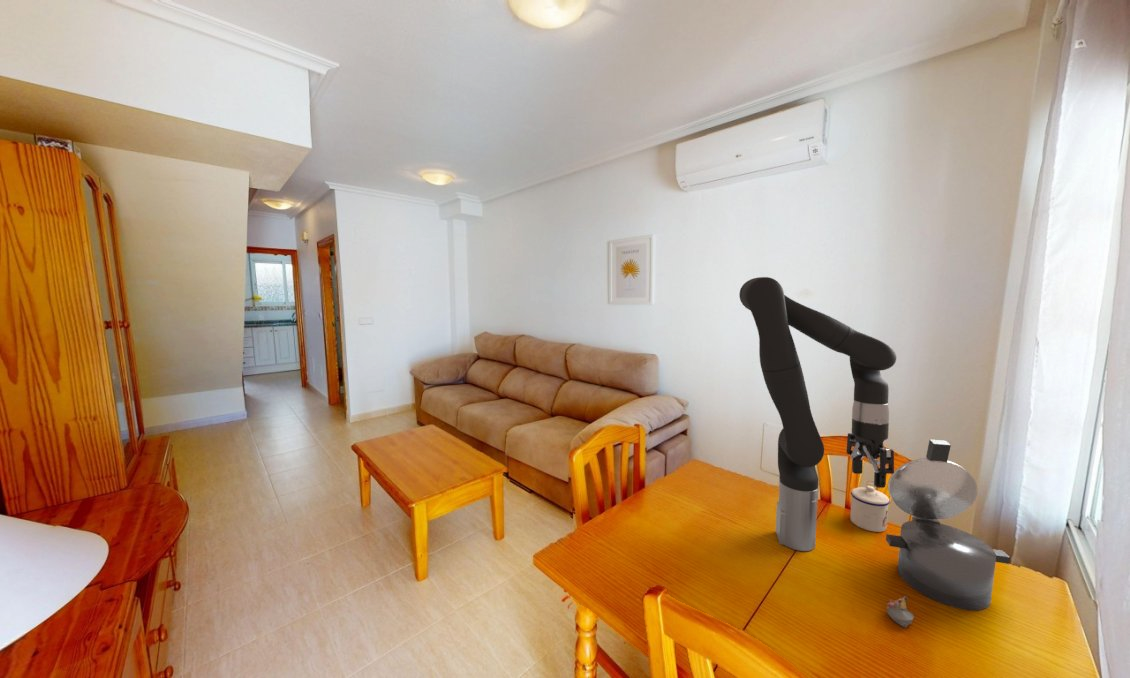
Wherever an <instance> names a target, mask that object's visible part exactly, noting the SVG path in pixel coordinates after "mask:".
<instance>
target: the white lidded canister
mask: <svg viewBox="0 0 1130 678" xmlns="http://www.w3.org/2000/svg"><path fill="white" fill-rule="evenodd" d="M850 496H851V500H850V517H849V518H850V521H851V522H852V523H853V524H854V526H857V527H859V528H860V529H863V530H864V531H865V530H866V531H868V532H869V531H870V532H874V533H875V532H876V533H877V532H878V533H880V532H881V533H882V532H885V531H886V530H887V527H888V517H889V516H888V514H889V504H890V503H891V501H890V499H889V497H888V496H887V494H884V493H883V492H881V491H879V490H876V489H875V486H872V485H867V486H865V487H862V486H861V487H854V488H852V490H851V492H850Z"/></svg>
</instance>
